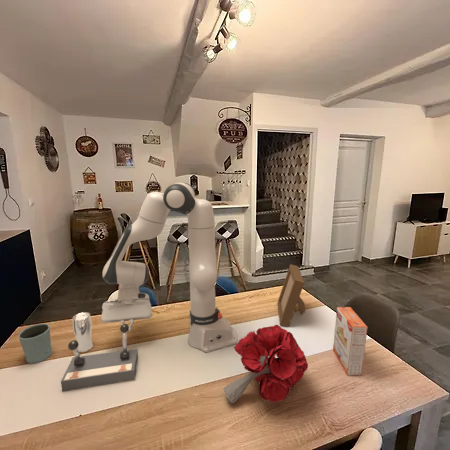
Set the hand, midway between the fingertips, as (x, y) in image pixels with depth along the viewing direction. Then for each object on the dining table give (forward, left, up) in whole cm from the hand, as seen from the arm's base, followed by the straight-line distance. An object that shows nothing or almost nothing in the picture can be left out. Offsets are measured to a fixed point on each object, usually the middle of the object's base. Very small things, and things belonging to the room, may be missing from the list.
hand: (126, 331), depth 106 cm
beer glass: (+19, -8, -11) cm, 23 cm away
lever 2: (0, +8, -6) cm, 10 cm away
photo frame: (-81, -12, -11) cm, 83 cm away
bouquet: (-49, +29, -11) cm, 58 cm away
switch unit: (+8, +9, -10) cm, 16 cm away
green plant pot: (+36, -6, -11) cm, 38 cm away
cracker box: (-86, +24, -11) cm, 90 cm away
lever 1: (+16, +8, -6) cm, 19 cm away
